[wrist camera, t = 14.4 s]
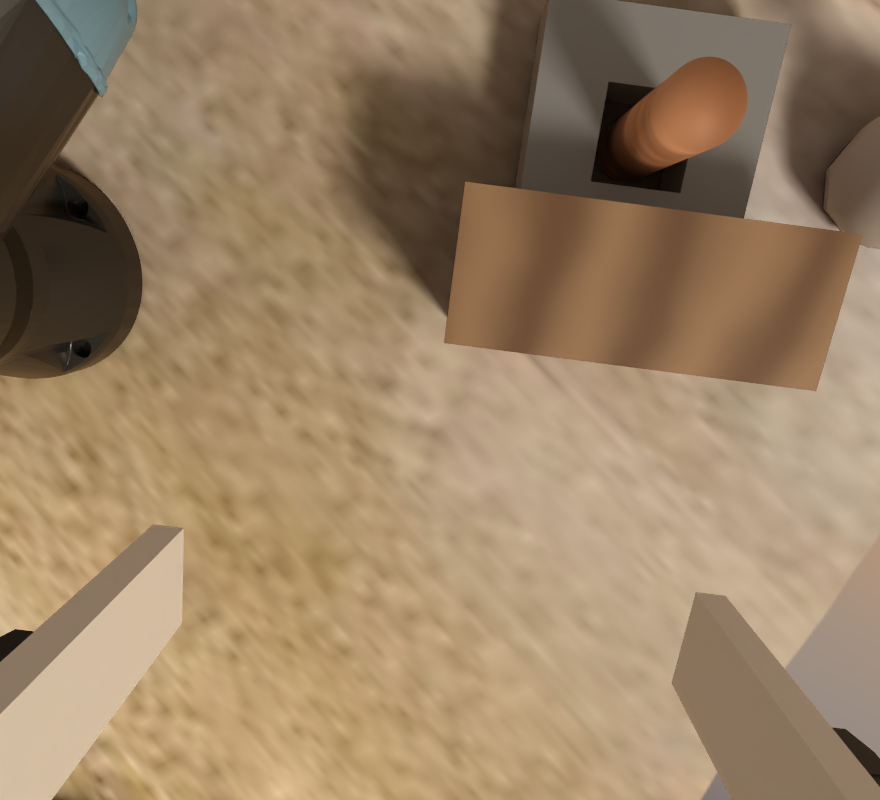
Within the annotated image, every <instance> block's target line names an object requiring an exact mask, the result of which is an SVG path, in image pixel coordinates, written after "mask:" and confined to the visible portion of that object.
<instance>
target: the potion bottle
mask: <svg viewBox="0 0 880 800" xmlns="http://www.w3.org/2000/svg"><path fill="white" fill-rule="evenodd" d="M823 209H824V211H825V212H826V213H827V214H828V216H829V217H830V218H831V219H832V221H833V222H834V223H835V224H836V226H837V227H838V228H839V229H840V231H841V232H848V233H856V234H863V235H862V238H861V241H860V245H863V246H865V247H868V248H877V249H880V116H878V117H877V118H876V119H874V120H873V121H871V122H870V123H869V124H867V125H866V126H864V127H863V128H862V129H861V130H860V131H859V132H858V133H857V135H856V136H855V137H854V138H853V140H851V141H850V142H849V143H848V145H847V146H846V147H845V148H844V149H843V151H842V152H841V153H840V154H839V155H838V157H837V158H836V159H835V160H834V161H833V163H832V164H831V165H830V166H829V167H828V169H827V170H826V171H825V184H824V197H823Z"/></svg>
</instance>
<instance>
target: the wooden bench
mask: <svg viewBox="0 0 880 800" xmlns="http://www.w3.org/2000/svg"><path fill="white" fill-rule="evenodd" d="M862 235H863V234H856V233H848V232H841V231H833V230H826V229H818V228H811V227H803V226H795V225H788V224H780V223H773V222H765V221H758V220H750V219H743V218H735V217H728V216H720V215H713V214H705V213H698V212H690V211H683V210H675V209H668V208H660V207H653V206H645V205H638V204H630V203H623V202H615V201H608V200H600V199H593V198H585V197H578V196H570V195H563V194H555V193H548V192H540V191H533V190H525V189H518V188H510V187H502V186H495V185H487V184H480V183H472V182H465V185H464V193H463V200H462V208H461V216H460V223H459V231H458V239H457V247H456V254H455V262H454V270H453V277H452V285H451V293H450V300H449V308H448V316H447V323H446V331H445V339H444V343H449V344H456V345H464V346H472V347H480V348H487V349H495V350H503V351H510V352H518V353H526V354H534V355H541V356H549V357H557V358H564V359H572V360H580V361H588V362H595V363H603V364H611V365H619V366H626V367H634V368H642V369H649V370H657V371H665V372H673V373H680V374H688V375H696V376H703V377H711V378H719V379H727V380H734V381H742V382H750V383H757V384H765V385H773V386H781V387H788V388H796V389H804V390H811V391H816V390H817V386H818V383H819V380H820V376H821V373H822V369H823V366H824V363H825V359H826V356H827V353H828V349H829V346H830V343H831V339H832V336H833V332H834V329H835V326H836V322H837V319H838V316H839V312H840V309H841V305H842V302H843V299H844V295H845V292H846V289H847V285H848V282H849V278H850V275H851V272H852V268H853V265H854V262H855V258H856V255H857V252H858V248H859V245H860V241H861V238H862Z"/></svg>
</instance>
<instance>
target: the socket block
mask: <svg viewBox="0 0 880 800" xmlns="http://www.w3.org/2000/svg"><path fill="white" fill-rule="evenodd" d="M790 28H791V24H785V23H778V22H771V21H764V20H756V19H749V18H742V17H735V16H727V15H720V14H713V13H705V12H698V11H691V10H684V9H676V8H669V7H662V6H654V5H647V4H640V3H633V2H625V1H618V0H547V3H546V5H545V8H544V11H543V13H542V16H541V19H540V24H539V31H538V38H537V44H536V51H535V58H534V64H533V71H532V78H531V84H530V91H529V98H528V104H527V111H526V117H525V124H524V131H523V137H522V144H521V151H520V157H519V164H518V171H517V177H516V184H515V188H518V189H525V190H533V191H540V192H548V193H555V194H563V195H570V196H578V197H585V198H593V199H600V200H608V201H615V202H623V203H630V204H638V205H645V206H653V207H660V208H668V209H675V210H683V211H690V212H698V213H705V214H713V215H720V216H728V217H735V218H743V219H744V215H745V211H746V207H747V202H748V198H749V194H750V190H751V186H752V182H753V178H754V174H755V170H756V166H757V162H758V158H759V154H760V150H761V146H762V142H763V137H764V133H765V129H766V125H767V121H768V117H769V113H770V109H771V105H772V101H773V97H774V93H775V89H776V85H777V81H778V76H779V72H780V68H781V64H782V60H783V56H784V52H785V48H786V44H787V40H788V36H789V32H790ZM701 57H718V58H721V59H724V60H726V61H728V62H730V63H731V64H732V65H734V66H735V67H736V68H737V69H738V70H739V72H740V73H741V75H742V77H743V79H744V81H745V84H746V88H747V95H748V101H747V108H746V112H745V116H744V118H743V120H742V122H741V124H740V126H739V128H738V129H737V130H736V132H735V133H734V134H733V135H732V136H731V137H730V138H729V139H728V140H726V141H725V142H723V143H722V144H720V145H718V146H716V147H714V148H711V149H709V150H707V151H704V152H702V153H699V154H697V155H695V156H692V157H690V158H687V159H685V160H683V161H680V162H678V163H675V164H673V165H671V166H668V167H666V168H664V172H663V177H662V182H661V186H660V191H659V190H652V189H644V188H637V187H629V186H622V185H614V184H607V183H599V182H592V181H591V177H592V171H593V166H594V160H595V155H596V149H597V144H598V138H599V132H600V127H601V121H602V116H603V110H604V105H605V101H607V102H614V103H622V104H629V105H636V104H637V103H638V102H639V101H641V100H642V99H643V98H644V97H645V96H647V95H648V94H649V93H650V92H651V91H653V90H654V89H655V88H656V87H657V86H659V85H660V84H661V83H662V82H664V81H665V80H666V79H667V78H668V77H670V76H671V75H672V74H673V73H674V72H676V71H677V70H678V69H679V68H680V67H682V66H683V65H685V64H686V63H688V62H690V61H692V60H694V59H697V58H701Z"/></svg>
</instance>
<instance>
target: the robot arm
mask: <svg viewBox="0 0 880 800" xmlns="http://www.w3.org/2000/svg"><path fill="white" fill-rule="evenodd" d="M136 22H137V5H136V0H0V375H3V376H11V377H18V378H28V379H38V378H50V377H57V376H61V375H65V374H68V373H72V372H75V371H78V370H82V369H85V368H87V367H90V366H92V365H94V364H96V363H98V362H100V361H102V360H103V359H105V358H106V357H108V356H109V355H110V354H111V353H113V352H114V351H115V350H116V349H117V348H118V347H119V346H120V345H121V343H122V342H123V341H124V340H125V338H126V337H127V335H128V334H129V332H130V330H131V329H132V327H133V324H134V322H135V320H136V317H137V314H138V311H139V307H140V302H141V296H142V271H141V264H140V259H139V255H138V251H137V248H136V245H135V242H134V240H133V237H132V235H131V233H130V231H129V229H128V227H127V225H126V223H125V221H124V220H123V218H122V217H121V215H120V214H119V212H118V211H117V209H116V208H115V207H114V205H113V204H112V203H111V202H110V201H109V200H108V198H107V197H106V196H105V195H104V194H103V193H102V192H101V191H100V190H98V189H97V188H96V187H95V186H94V185H93V184H91V183H90V182H89V181H88V180H86V179H85V178H83V177H82V176H80V175H79V174H77V173H75V172H73V171H72V170H70V169H68V168H66V167H63V166H61V165H59V164H56V163H54V162H55V160H56V159H57V157H58V156H59V154H60V153H61V151H62V150H63V148H64V147H65V145H66V144H67V142H68V141H69V139H70V137H71V136H72V134H73V133H74V131H75V130H76V128H77V127H78V125H79V124H80V122H81V121H82V119H83V118H84V116H85V114H86V113H87V111H88V110H89V108H90V107H91V105H92V104H93V102H94V101H95V99H96V98H97V96H98V95H99V96H101V97H103V96H104V94H105V93H106V92H107V83H106V80H107V78H108V76H109V75H110V73H111V71H112V69H113V67H114V66H115V64H116V62H117V60H118V58H119V57H120V55H121V53H122V51H123V50H124V48H125V46H126V45H127V43H128V41H129V39H130V38H131V36H132V34H133V32H134V30H135V26H136ZM183 537H184V528H177V527H169V526H161V525H152V526H151V527H150V528H149V529H148V530H147V531H146V532H145V533H143V534H142V535H141V536H140V537H139V538H138V539H137V540H136V541H135V542H133V543H132V544H131V545H130V546H129V547H128V548H127V549H126V550H124V551H123V552H122V553H121V554H120V555H119V556H118V557H117V558H116V559H114V560H113V561H112V562H111V563H110V564H109V565H108V566H107V567H106V568H104V569H103V570H102V571H101V572H100V573H99V574H98V575H97V576H96V577H94V578H93V579H92V580H91V581H90V582H89V583H88V584H87V585H86V586H84V587H83V588H82V589H81V590H80V591H79V592H78V593H77V594H76V595H74V596H73V597H72V598H71V599H70V600H69V601H68V602H67V603H66V604H64V605H63V606H62V607H61V608H60V609H59V610H58V611H57V612H55V613H54V614H53V615H52V616H51V617H50V618H49V619H48V620H47V621H45V622H44V623H43V624H42V625H41V626H40V627H39V628H38V629H37V630H35V631H34V632H33V631H25V630H17V629H15V630H13V631H11V632H9V633H7V634H5V635H3V636H1V637H0V800H52V799H53V797H54V796H55V794H56V793H57V792H58V790H59V789H60V788H61V786H62V785H63V784H64V782H65V781H66V780H67V778H68V777H69V775H70V774H71V773H72V771H73V770H74V769H75V767H76V766H77V765H78V763H79V762H80V760H81V759H82V758H83V756H84V755H85V754H86V752H87V751H88V750H89V748H90V747H91V746H92V744H93V743H94V741H95V740H96V739H97V737H98V736H99V735H100V733H101V732H102V731H103V729H104V728H105V727H106V725H107V724H108V722H109V721H110V720H111V718H112V717H113V716H114V714H115V713H116V712H117V710H118V709H119V708H120V706H121V705H122V703H123V702H124V701H125V699H126V698H127V697H128V695H129V694H130V693H131V691H132V690H133V689H134V687H135V686H136V684H137V683H138V682H139V680H140V679H141V678H142V676H143V675H144V674H145V672H146V671H147V670H148V668H149V667H150V665H151V664H152V663H153V661H154V660H155V659H156V657H157V656H158V655H159V653H160V652H161V650H162V649H163V648H164V646H165V645H166V644H167V642H168V641H169V640H170V638H171V637H172V636H173V634H174V633H175V631H176V630H177V629H178V627H179V626H180V625H181V623H182V589H183ZM672 685H673V687H674V689H675V691H676V692H677V694H678V696H679V698H680V700H681V702H682V704H683V706H684V708H685V710H686V712H687V714H688V716H689V718H690V720H691V722H692V723H693V725H694V727H695V729H696V731H697V733H698V735H699V737H700V739H701V741H702V743H703V745H704V747H705V749H706V751H707V752H708V754H709V756H710V758H711V760H712V762H713V764H714V766H715V768H716V770H717V772H718V774H719V776H720V777H721V779H722V782H723V783H724V785H725V787H726V789H727V791H728V793H729V795H730V797H731V799H732V800H880V758H879V757H878V756H877V755H876V754H875V753H874V752H873V751H872V750H871V749H870V748H868V747H867V746H866V745H865V744H863V743H862V742H861V741H860V740H858V739H857V738H856V737H855V736H853V735H852V734H851V733H850V732H848V731H847V730H846V729H840V728H832V727H831V726H830V725H829V724H828V722H827V721H826V720H825V719H824V717H823V716H822V715H821V714H820V713H819V711H818V710H817V709H816V708H815V706H814V705H813V704H812V702H811V701H810V700H809V699H808V698H807V696H806V695H805V694H804V693H803V691H802V690H801V689H800V688H799V686H798V685H797V684H796V683H795V681H794V680H793V679H792V678H791V676H790V675H789V674H788V673H787V672H786V670H785V669H784V668H783V667H782V665H781V664H780V663H779V662H778V660H777V659H776V658H775V657H774V655H773V654H772V653H771V652H770V651H769V649H768V648H767V647H766V646H765V644H764V643H763V642H762V641H761V639H760V638H759V637H758V636H757V634H756V633H755V632H754V631H753V629H752V628H751V627H750V626H749V625H748V623H747V622H746V621H745V620H744V618H743V617H742V616H741V615H740V613H739V612H738V611H737V610H736V608H735V607H734V606H733V605H732V603H731V602H730V601H729V600H728V599H727V597H726V596H722V595H714V594H706V593H698V592H696V594H695V598H694V601H693V605H692V609H691V613H690V616H689V620H688V624H687V627H686V631H685V635H684V639H683V642H682V646H681V650H680V654H679V657H678V661H677V665H676V669H675V672H674V676H673V680H672Z"/></svg>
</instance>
